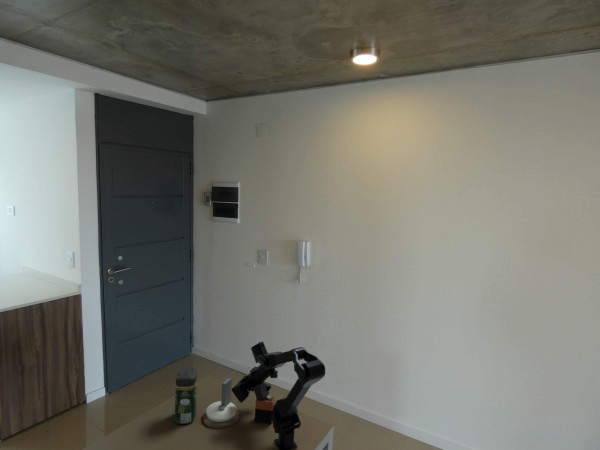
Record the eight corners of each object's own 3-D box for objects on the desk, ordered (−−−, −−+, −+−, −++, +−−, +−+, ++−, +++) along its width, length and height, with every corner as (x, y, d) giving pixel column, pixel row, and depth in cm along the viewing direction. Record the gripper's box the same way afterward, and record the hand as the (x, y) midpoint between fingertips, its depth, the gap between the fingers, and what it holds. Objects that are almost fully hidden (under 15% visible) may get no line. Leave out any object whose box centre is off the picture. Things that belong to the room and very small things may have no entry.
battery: (271, 424, 137) (272, 399, 136) (254, 422, 138) (255, 397, 137) (273, 418, 141) (274, 394, 141) (256, 416, 142) (258, 392, 141)
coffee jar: (176, 410, 142) (178, 366, 141) (196, 409, 143) (198, 365, 142) (172, 426, 133) (173, 378, 131) (193, 424, 134) (195, 377, 133)
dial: (239, 417, 137) (241, 389, 136) (209, 425, 132) (211, 395, 131) (231, 402, 147) (232, 375, 146) (203, 408, 142) (204, 380, 141)
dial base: (243, 423, 137) (243, 419, 136) (207, 432, 130) (207, 427, 130) (233, 404, 149) (233, 400, 149) (199, 411, 143) (199, 407, 142)
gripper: (264, 403, 128) (235, 424, 133) (282, 379, 146) (256, 399, 150) (245, 377, 130) (218, 399, 134) (265, 357, 148) (241, 377, 152)
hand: (234, 394), depth 143 cm, fingers closed
